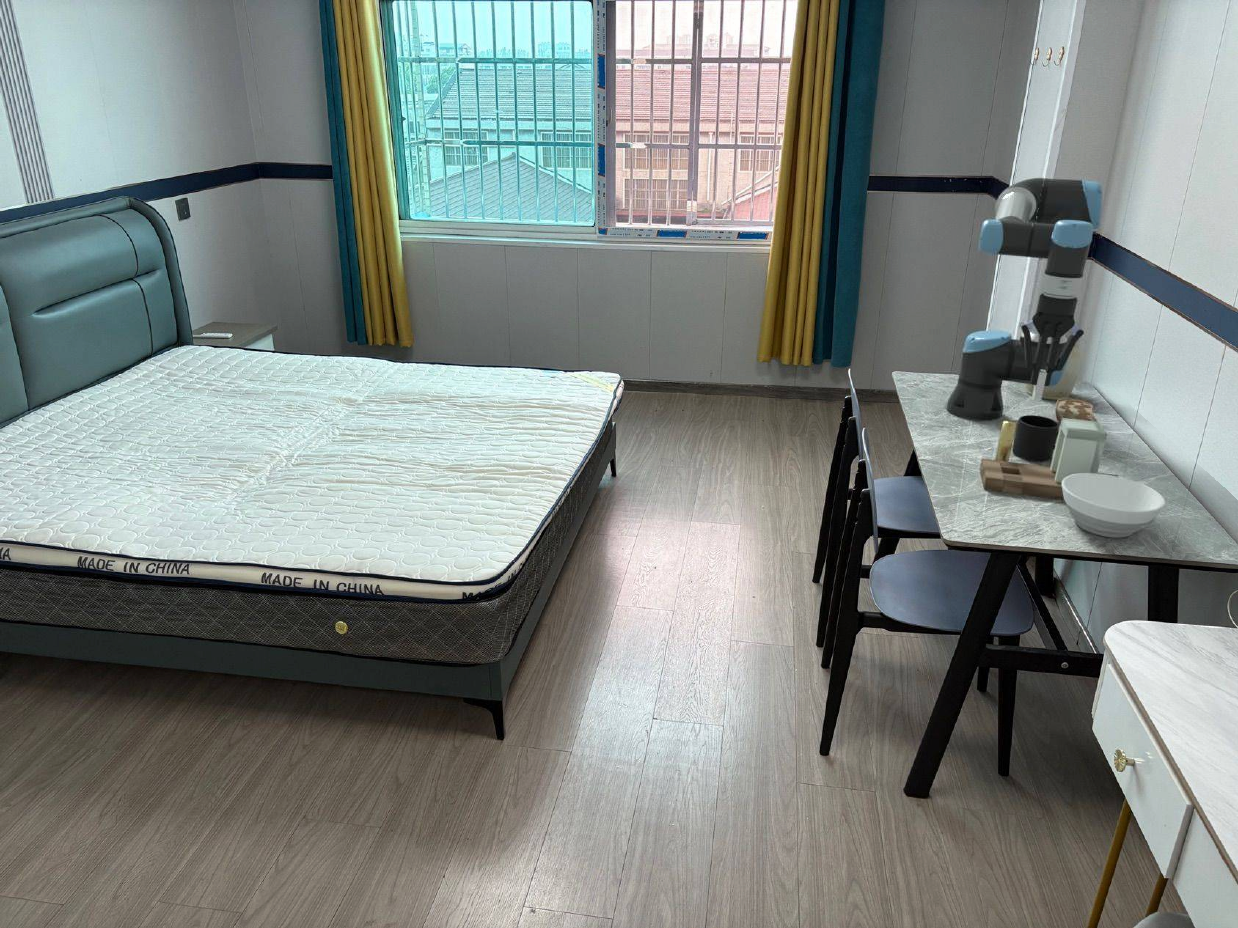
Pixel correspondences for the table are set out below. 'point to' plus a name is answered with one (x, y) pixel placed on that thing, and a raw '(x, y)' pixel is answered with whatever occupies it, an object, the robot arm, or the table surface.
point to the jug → (1063, 378)
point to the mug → (1035, 438)
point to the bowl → (1110, 503)
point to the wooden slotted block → (1021, 478)
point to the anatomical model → (1074, 410)
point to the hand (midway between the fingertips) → (1036, 398)
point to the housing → (1078, 448)
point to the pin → (1005, 440)
